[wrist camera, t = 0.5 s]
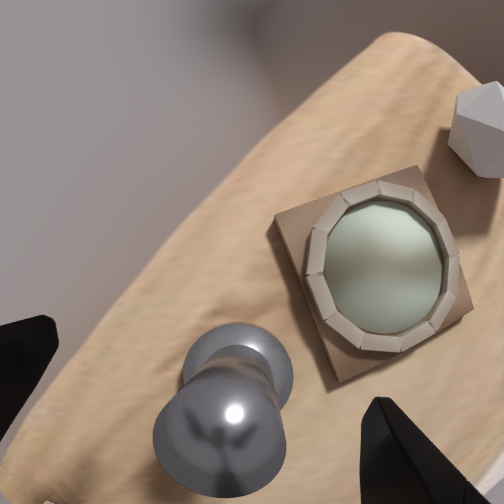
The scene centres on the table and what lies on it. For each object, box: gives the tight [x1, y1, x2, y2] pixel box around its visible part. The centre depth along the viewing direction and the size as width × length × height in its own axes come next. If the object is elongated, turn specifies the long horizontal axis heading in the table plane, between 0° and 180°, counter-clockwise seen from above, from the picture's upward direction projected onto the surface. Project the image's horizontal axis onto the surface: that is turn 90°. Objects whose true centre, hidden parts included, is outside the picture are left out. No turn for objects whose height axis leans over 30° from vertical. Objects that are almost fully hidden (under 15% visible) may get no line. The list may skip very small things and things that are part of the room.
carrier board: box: [274, 165, 474, 383], centre depth 21 cm, size 12×12×2 cm
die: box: [447, 81, 504, 178], centre depth 19 cm, size 8×9×10 cm
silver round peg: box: [153, 322, 293, 498], centre depth 15 cm, size 7×7×12 cm
